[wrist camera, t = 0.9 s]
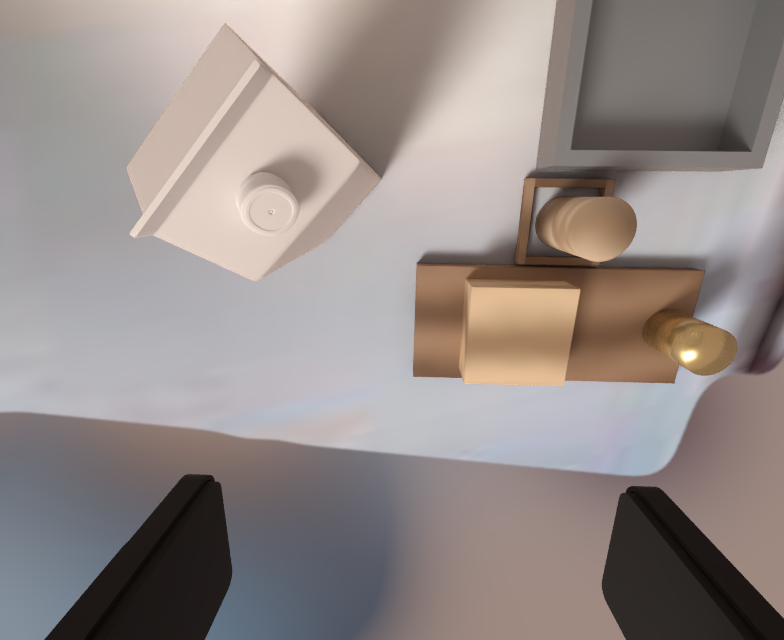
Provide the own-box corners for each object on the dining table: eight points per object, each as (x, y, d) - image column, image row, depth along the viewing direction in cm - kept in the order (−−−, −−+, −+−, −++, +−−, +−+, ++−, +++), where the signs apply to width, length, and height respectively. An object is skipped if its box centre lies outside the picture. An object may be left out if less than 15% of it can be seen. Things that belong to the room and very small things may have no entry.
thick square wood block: (465, 278, 31) (471, 287, 28) (564, 280, 31) (580, 289, 28) (458, 367, 33) (464, 383, 31) (549, 369, 33) (563, 386, 30)
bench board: (416, 263, 32) (417, 265, 31) (693, 268, 31) (705, 271, 30) (413, 370, 35) (413, 376, 34) (665, 377, 34) (674, 383, 33)
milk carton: (256, 181, 30) (37, 158, 12) (314, 109, 28) (157, -43, 10) (323, 244, 32) (216, 307, 14) (382, 179, 30) (348, 152, 12)
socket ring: (524, 178, 29) (527, 178, 29) (609, 179, 29) (615, 179, 29) (514, 262, 32) (517, 264, 31) (594, 264, 31) (599, 265, 31)
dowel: (538, 196, 30) (577, 196, 23) (589, 197, 30) (643, 197, 23) (532, 247, 31) (566, 261, 24) (581, 248, 31) (629, 262, 24)
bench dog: (647, 308, 31) (691, 328, 26) (692, 309, 31) (743, 329, 26) (638, 348, 32) (678, 374, 28) (680, 349, 32) (728, 376, 27)
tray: (563, -59, 25) (589, -100, 21) (781, -60, 25) (842, -101, 21) (535, 169, 29) (553, 165, 26) (719, 171, 29) (762, 168, 25)
